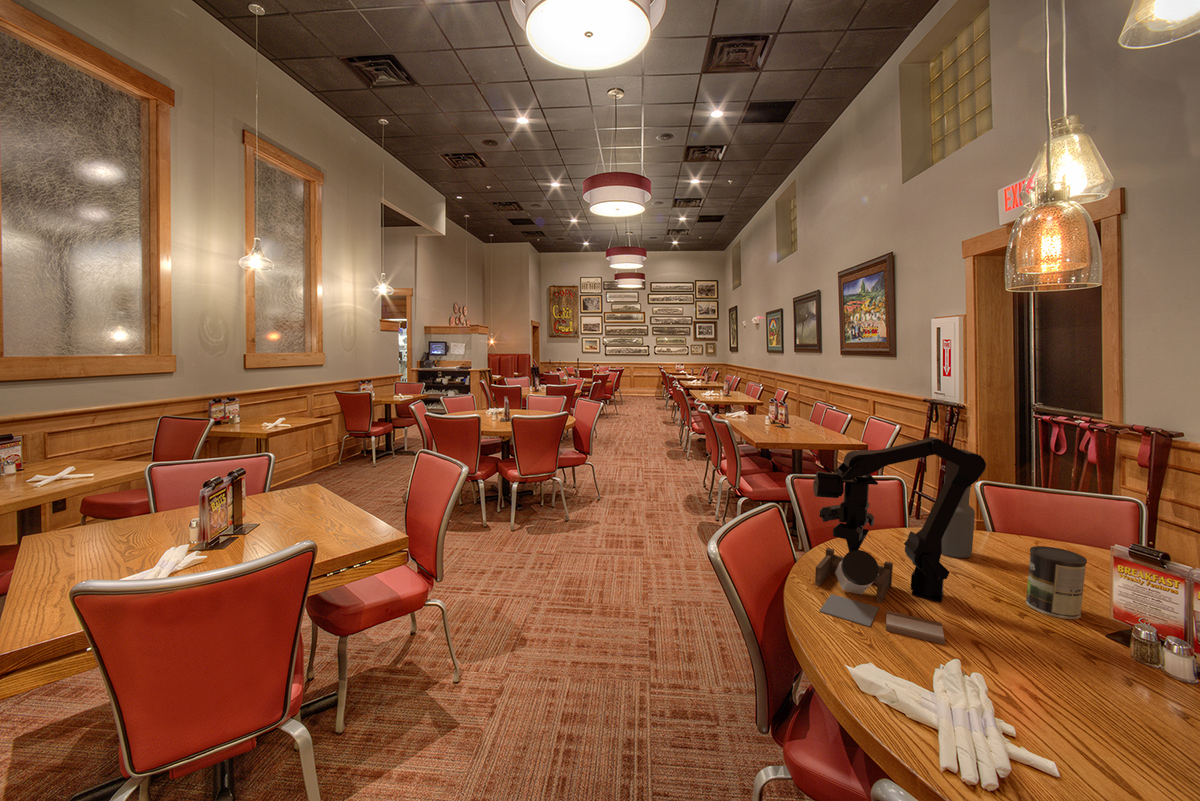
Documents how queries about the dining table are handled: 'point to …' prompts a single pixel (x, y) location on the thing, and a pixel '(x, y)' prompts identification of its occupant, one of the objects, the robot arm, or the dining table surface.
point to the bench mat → (850, 610)
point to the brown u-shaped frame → (832, 561)
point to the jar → (857, 571)
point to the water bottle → (960, 530)
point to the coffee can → (1056, 582)
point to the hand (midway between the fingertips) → (852, 556)
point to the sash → (915, 627)
